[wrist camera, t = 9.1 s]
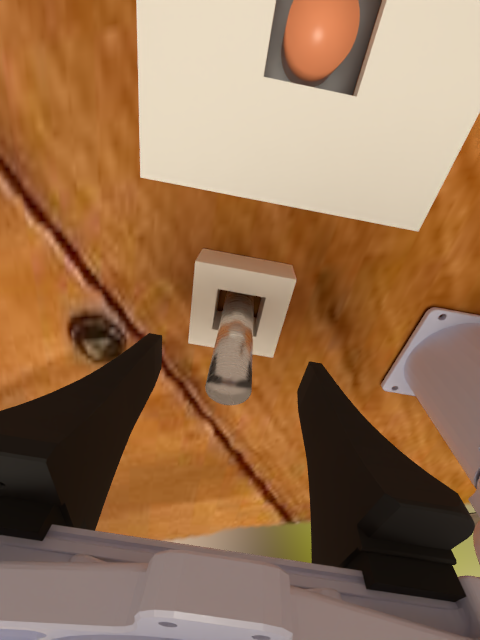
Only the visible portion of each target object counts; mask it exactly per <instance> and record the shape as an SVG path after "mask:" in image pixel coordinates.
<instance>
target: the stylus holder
mask: <svg viewBox="0 0 480 640" xmlns="http://www.w3.org/2000/svg"><path fill="white" fill-rule="evenodd" d="M296 280H297V279H296V276H295V273H294V269H293V266H292V265H290V264H285V263H279V262H274V261H269V260H263V259H258V258H253V257H247V256H242V255H236V254H231V253H226V252H220V251H215V250H210V249H204V248H203V249H202V250H201V252H200V254H199V255H198V257H197V259H196V261H195V269H194V281H193V293H192V304H191V316H190V328H189V339H188V343H190V344H196V345H202V346H208V347H213V348H214V347H215V342H216V338H217V333H218V329H219V325H220V320H221V316H222V312H221V311H217V307H218V300H219V293H220V289H221V290H226V291H232V292H237V293H243V294H248V295H254V296H259V297H261V301H260V305H259V309H258V313H257V317H256V318H255V317H253V351H252V354H254V355H260V356H266V357H272V358H273V356H274V352H275V349H276V346H277V342H278V339H279V336H280V333H281V329H282V326H283V323H284V320H285V316H286V313H287V310H288V306H289V303H290V300H291V297H292V293H293V290H294V287H295V283H296Z"/></svg>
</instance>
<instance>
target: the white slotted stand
mask: <svg viewBox="0 0 480 640" xmlns="http://www.w3.org/2000/svg"><path fill="white" fill-rule="evenodd" d="M136 2H137V46H138V90H139V133H140V177H141V178H146V179H152V180H157V181H162V182H167V183H172V184H177V185H182V186H187V187H193V188H198V189H203V190H208V191H213V192H218V193H223V194H228V195H234V196H239V197H244V198H249V199H254V200H259V201H264V202H269V203H275V204H280V205H285V206H290V207H295V208H300V209H305V210H310V211H316V212H321V213H326V214H331V215H336V216H341V217H346V218H351V219H357V220H362V221H367V222H372V223H377V224H382V225H387V226H392V227H398V228H403V229H408V230H413V231H419V229H420V227H421V225H422V224H423V222H424V220H425V218H426V216H427V214H428V212H429V210H430V208H431V206H432V204H433V202H434V200H435V198H436V196H437V194H438V192H439V190H440V188H441V186H442V184H443V183H444V181H445V179H446V177H447V175H448V173H449V171H450V169H451V167H452V165H453V163H454V161H455V159H456V157H457V155H458V153H459V151H460V149H461V147H462V145H463V144H464V142H465V140H466V138H467V136H468V134H469V132H470V130H471V128H472V126H473V124H474V122H475V120H476V118H477V116H478V114H479V112H480V0H382V3H381V6H380V9H379V13H378V16H377V19H376V23H375V26H374V29H373V32H372V36H371V39H370V42H369V45H368V49H367V52H366V55H365V59H364V62H363V65H362V68H361V72H360V75H359V78H358V81H357V85H356V88H355V91H354V94H353V96H352V95H347V94H342V93H338V92H333V91H328V90H324V89H319V88H314V87H309V86H305V85H300V84H295V83H291V82H286V81H281V80H277V79H272V78H267V77H264V72H265V66H266V60H267V54H268V48H269V42H270V36H271V30H272V24H273V18H274V11H275V5H276V0H136Z"/></svg>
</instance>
